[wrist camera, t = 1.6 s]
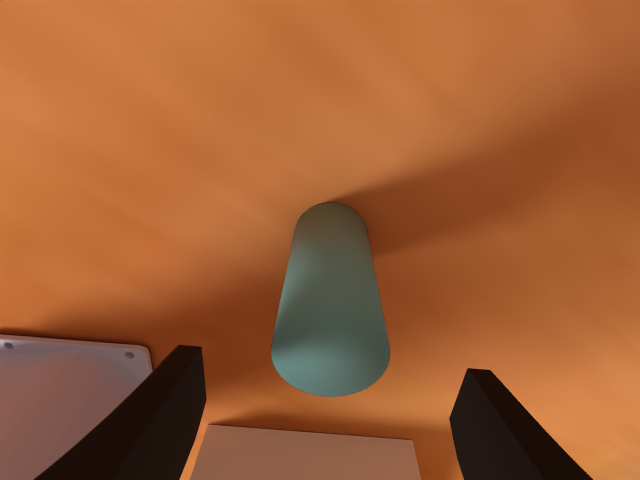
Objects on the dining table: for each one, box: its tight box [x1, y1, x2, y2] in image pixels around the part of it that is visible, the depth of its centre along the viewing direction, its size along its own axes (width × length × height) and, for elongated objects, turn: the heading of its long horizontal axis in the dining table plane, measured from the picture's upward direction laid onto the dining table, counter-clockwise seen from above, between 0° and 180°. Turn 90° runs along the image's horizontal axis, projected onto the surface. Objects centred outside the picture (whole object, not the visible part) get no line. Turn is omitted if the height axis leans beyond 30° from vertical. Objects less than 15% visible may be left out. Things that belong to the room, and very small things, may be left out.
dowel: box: [271, 202, 390, 397], centre depth 15 cm, size 4×4×8 cm
